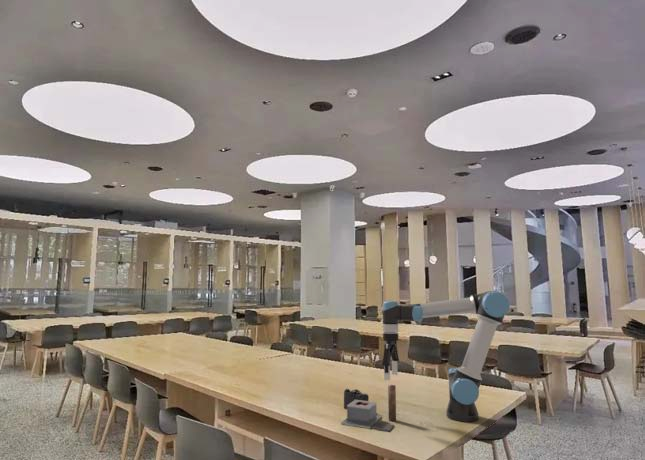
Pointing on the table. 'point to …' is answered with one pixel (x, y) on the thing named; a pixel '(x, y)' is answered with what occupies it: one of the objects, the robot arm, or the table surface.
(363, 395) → the camera
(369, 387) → the table surface
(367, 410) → the box
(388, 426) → the rubber mat
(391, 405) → the walnut dowel
